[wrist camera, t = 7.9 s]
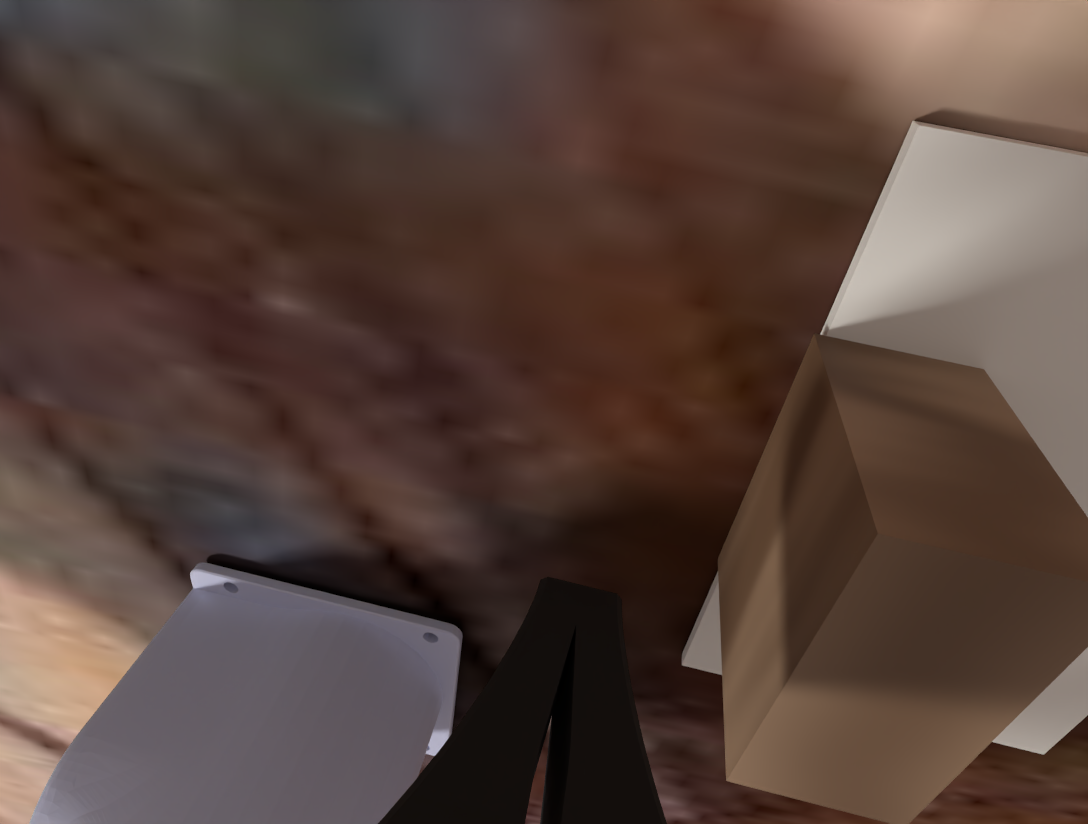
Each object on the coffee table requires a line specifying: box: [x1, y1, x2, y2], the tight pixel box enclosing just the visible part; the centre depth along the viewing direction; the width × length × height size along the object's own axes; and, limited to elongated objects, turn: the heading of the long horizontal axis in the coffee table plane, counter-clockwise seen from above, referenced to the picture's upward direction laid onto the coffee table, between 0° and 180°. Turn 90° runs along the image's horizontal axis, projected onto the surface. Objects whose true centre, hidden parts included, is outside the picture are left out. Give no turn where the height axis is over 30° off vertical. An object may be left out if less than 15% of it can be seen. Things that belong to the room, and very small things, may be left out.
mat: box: [682, 121, 1088, 755], centre depth 16 cm, size 11×16×1 cm
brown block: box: [718, 333, 1088, 824], centre depth 14 cm, size 4×7×6 cm, turn 172°
